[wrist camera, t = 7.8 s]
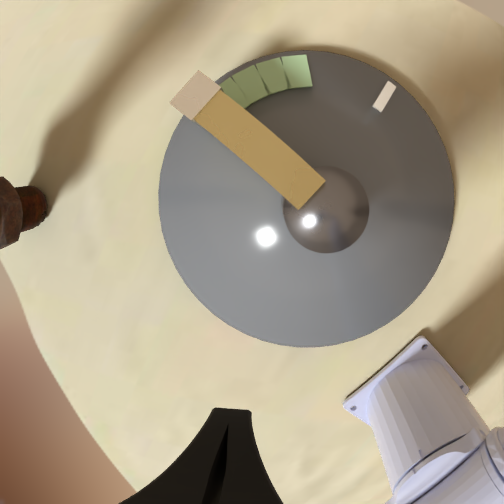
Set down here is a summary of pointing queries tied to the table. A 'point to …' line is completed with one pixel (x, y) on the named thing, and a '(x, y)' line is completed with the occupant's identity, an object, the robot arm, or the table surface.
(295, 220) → the peg lever
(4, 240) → the bolt
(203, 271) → the dial plate
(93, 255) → the table surface
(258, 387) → the table surface
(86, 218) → the table surface
